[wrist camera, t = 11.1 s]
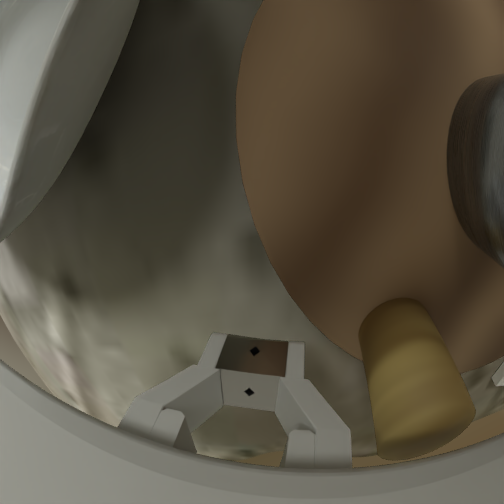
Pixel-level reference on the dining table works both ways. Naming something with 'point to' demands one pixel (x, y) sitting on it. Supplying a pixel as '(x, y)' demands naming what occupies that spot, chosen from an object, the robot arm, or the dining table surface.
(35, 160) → the serving bowl
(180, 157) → the dining table surface
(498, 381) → the joystick
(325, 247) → the turntable
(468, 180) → the cover
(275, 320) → the dining table surface
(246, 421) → the dining table surface
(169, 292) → the dining table surface
